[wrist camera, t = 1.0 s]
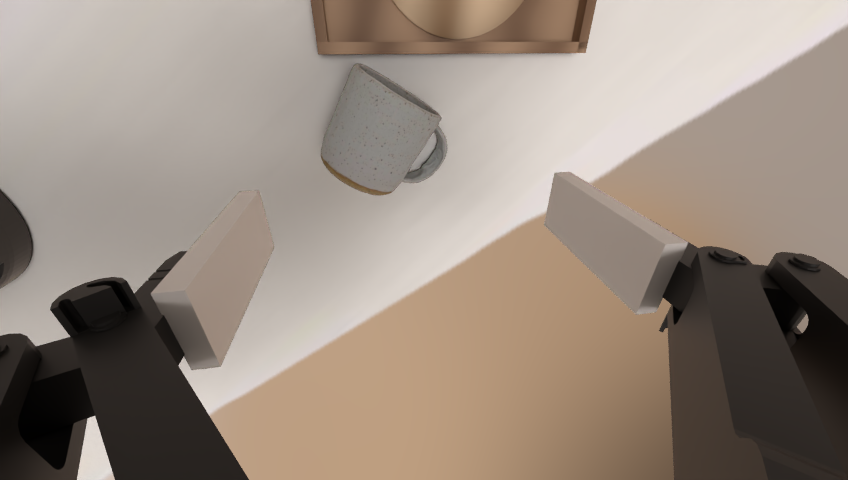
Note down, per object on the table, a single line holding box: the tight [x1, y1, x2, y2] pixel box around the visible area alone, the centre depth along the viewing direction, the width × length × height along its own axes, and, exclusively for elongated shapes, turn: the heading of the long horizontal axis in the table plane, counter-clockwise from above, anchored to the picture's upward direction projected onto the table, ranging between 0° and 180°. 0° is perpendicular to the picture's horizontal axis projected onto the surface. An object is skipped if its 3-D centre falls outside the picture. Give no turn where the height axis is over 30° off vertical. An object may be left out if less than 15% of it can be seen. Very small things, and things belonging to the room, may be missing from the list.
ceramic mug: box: [321, 64, 447, 195], centre depth 28 cm, size 11×8×8 cm
